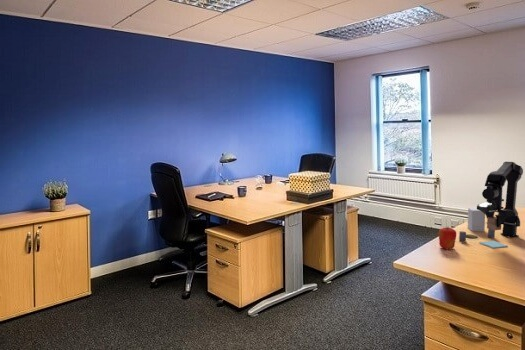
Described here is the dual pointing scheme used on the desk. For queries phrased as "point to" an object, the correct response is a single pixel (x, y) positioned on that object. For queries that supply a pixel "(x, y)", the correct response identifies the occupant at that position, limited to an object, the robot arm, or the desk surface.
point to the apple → (447, 238)
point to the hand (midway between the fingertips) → (494, 226)
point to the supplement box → (476, 220)
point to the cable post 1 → (462, 236)
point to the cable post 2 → (491, 233)
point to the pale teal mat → (493, 244)
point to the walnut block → (492, 223)
